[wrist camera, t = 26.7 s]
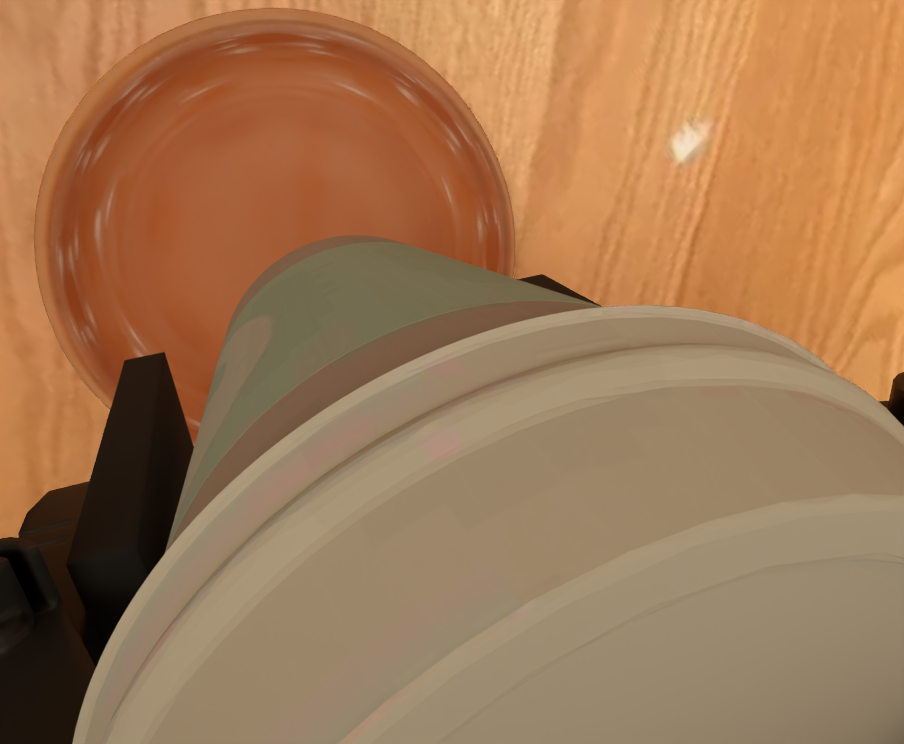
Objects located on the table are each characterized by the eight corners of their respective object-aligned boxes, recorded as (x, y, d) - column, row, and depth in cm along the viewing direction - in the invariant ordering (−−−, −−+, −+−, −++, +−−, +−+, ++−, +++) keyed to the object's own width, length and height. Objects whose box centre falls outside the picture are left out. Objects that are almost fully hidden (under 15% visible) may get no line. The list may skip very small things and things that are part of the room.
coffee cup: (154, 137, 12) (-88, 388, 2) (556, 196, 16) (1280, 416, 5) (149, 527, 15) (38, 1474, 5) (489, 511, 18) (868, 1066, 8)
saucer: (489, 407, 31) (516, 437, 28) (112, 476, 26) (102, 519, 24) (487, 16, 24) (521, 8, 22) (-12, 16, 20) (-44, 5, 17)
